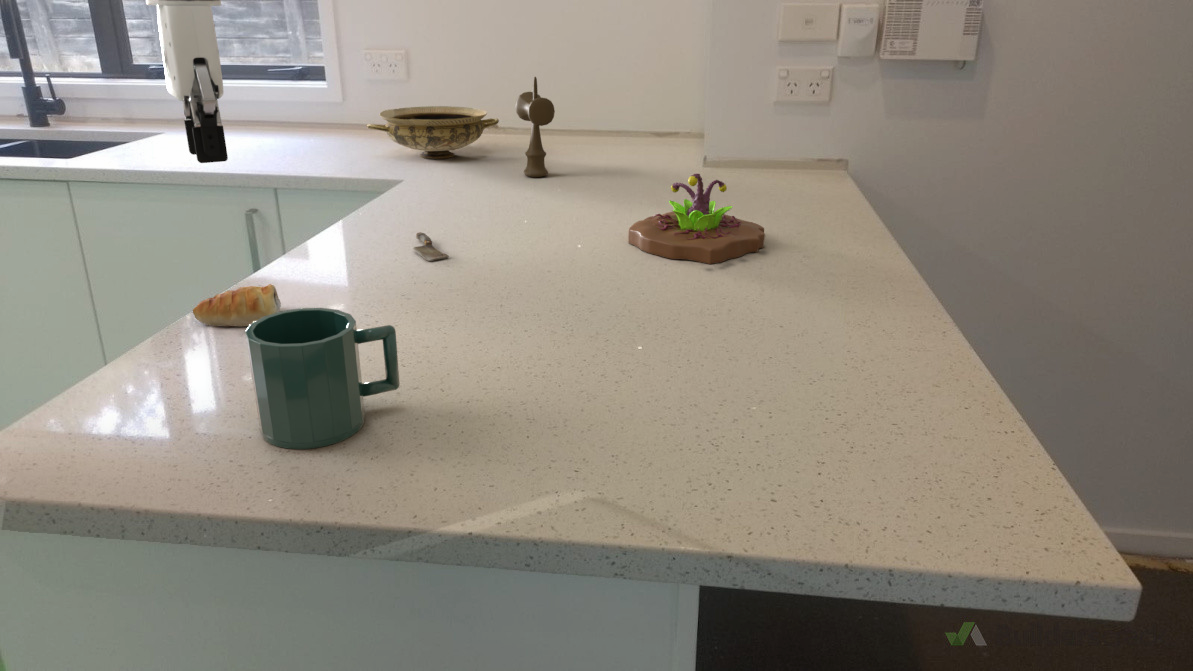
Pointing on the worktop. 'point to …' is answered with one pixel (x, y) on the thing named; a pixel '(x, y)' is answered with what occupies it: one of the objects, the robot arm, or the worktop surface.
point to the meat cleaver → (428, 249)
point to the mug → (314, 375)
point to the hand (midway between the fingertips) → (208, 155)
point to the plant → (697, 229)
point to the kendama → (535, 127)
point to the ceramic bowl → (434, 128)
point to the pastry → (238, 306)
